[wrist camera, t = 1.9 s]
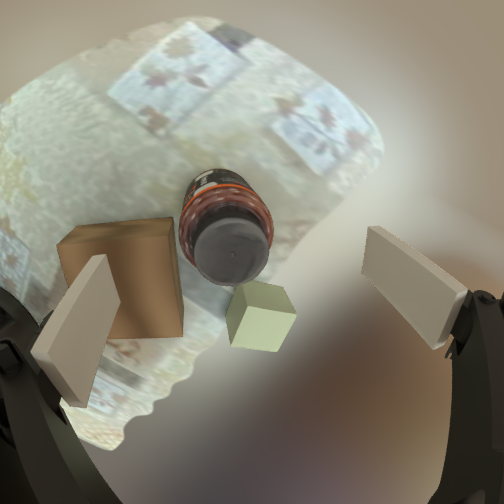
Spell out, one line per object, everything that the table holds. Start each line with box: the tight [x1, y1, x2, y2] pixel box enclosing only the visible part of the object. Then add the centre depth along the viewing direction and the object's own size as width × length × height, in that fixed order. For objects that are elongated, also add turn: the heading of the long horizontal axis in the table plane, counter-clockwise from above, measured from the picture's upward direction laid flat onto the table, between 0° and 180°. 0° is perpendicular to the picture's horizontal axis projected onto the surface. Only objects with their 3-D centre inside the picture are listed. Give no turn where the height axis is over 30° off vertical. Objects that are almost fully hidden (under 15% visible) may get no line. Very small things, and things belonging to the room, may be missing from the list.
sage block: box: [225, 280, 297, 352], centre depth 27 cm, size 5×5×5 cm
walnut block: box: [56, 217, 184, 339], centre depth 23 cm, size 10×10×5 cm
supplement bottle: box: [179, 169, 274, 286], centre depth 19 cm, size 6×6×11 cm
